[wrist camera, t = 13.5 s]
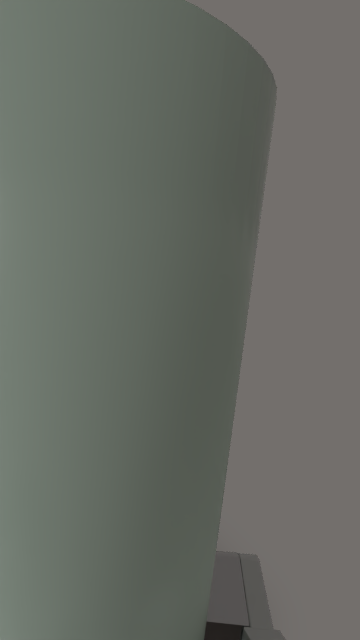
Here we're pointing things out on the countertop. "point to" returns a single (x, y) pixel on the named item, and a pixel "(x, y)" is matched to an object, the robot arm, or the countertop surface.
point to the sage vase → (121, 307)
